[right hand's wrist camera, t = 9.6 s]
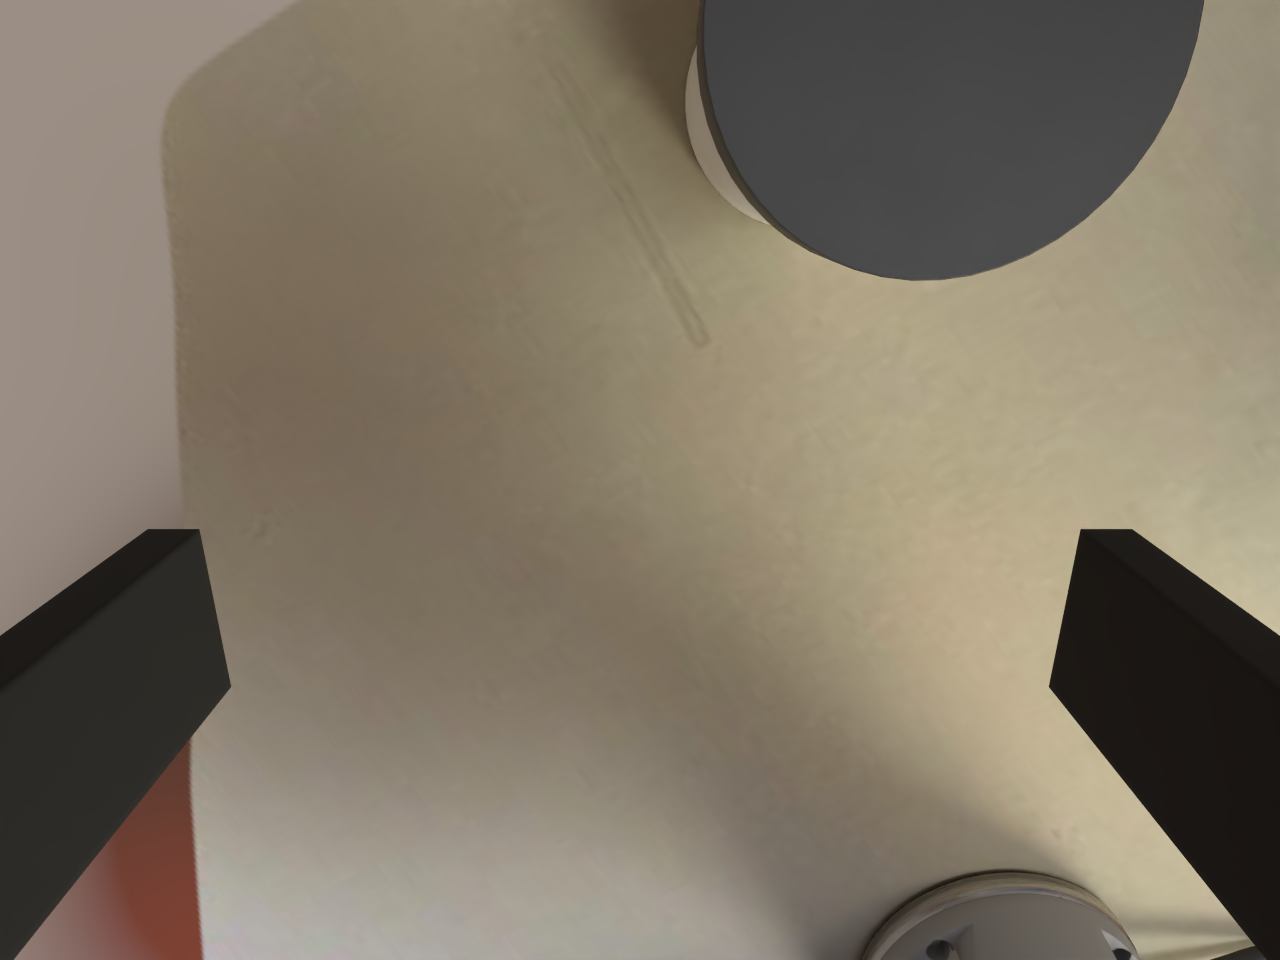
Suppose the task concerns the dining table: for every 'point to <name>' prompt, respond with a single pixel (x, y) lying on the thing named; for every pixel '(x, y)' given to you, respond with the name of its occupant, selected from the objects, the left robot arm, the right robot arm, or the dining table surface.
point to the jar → (710, 147)
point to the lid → (936, 119)
